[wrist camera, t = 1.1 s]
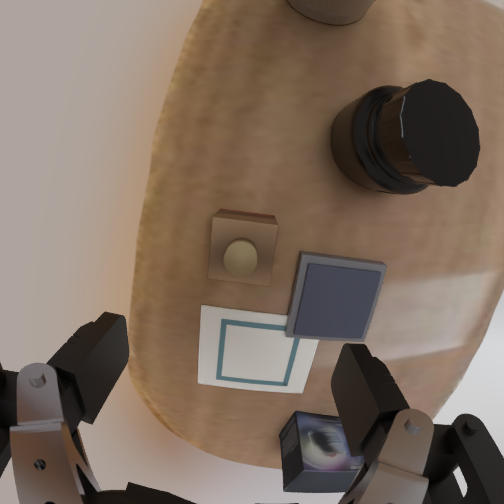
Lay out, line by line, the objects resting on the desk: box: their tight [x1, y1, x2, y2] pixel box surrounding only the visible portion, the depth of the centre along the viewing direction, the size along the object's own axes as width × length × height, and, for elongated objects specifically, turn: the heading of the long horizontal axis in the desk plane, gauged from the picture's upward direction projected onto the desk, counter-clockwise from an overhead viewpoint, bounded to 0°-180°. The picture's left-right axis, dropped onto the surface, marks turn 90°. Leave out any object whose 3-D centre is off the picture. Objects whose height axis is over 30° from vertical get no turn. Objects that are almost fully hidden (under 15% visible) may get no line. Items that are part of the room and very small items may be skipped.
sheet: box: [198, 305, 319, 393], centre depth 30 cm, size 11×13×1 cm
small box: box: [279, 411, 365, 493], centre depth 29 cm, size 11×6×10 cm, turn 72°
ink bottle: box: [331, 79, 480, 195], centre depth 18 cm, size 10×9×12 cm
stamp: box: [207, 209, 278, 286], centre depth 24 cm, size 5×5×7 cm
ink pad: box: [285, 251, 387, 342], centre depth 28 cm, size 9×9×2 cm
